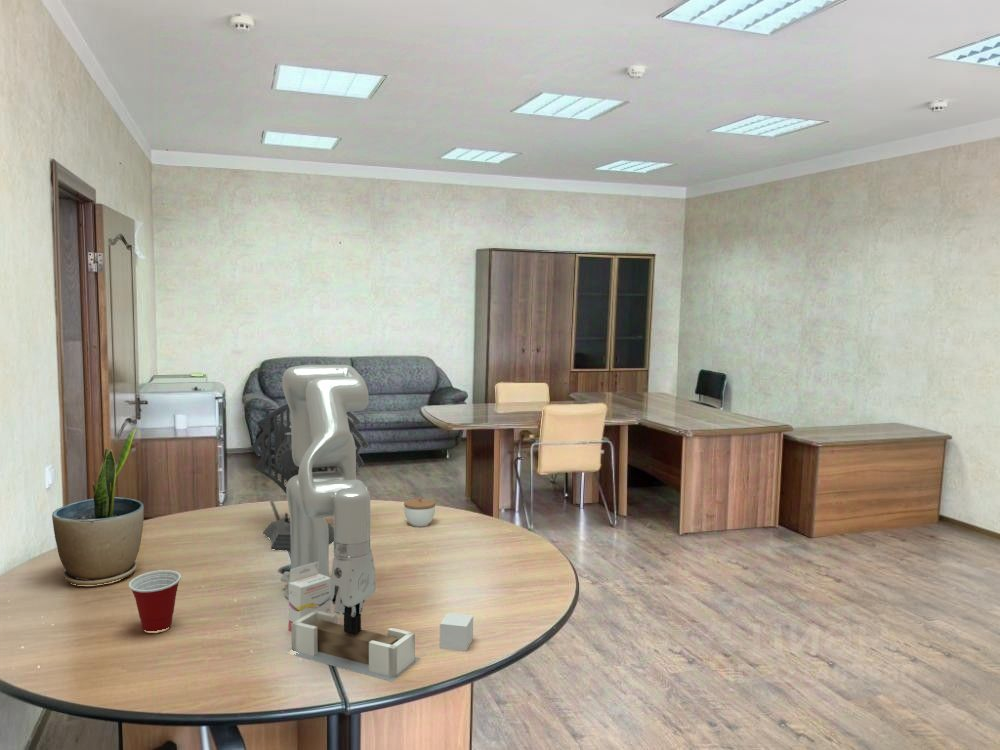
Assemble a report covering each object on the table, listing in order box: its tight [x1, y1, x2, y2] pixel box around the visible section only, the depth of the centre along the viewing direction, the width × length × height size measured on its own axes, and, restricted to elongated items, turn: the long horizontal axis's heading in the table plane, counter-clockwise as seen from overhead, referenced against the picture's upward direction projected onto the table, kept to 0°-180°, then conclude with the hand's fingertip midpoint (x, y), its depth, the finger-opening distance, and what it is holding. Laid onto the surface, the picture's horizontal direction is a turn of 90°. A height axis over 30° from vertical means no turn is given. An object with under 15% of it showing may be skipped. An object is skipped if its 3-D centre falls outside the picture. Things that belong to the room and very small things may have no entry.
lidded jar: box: [403, 496, 436, 528], centre depth 255 cm, size 11×11×9 cm
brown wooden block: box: [312, 620, 398, 665], centre depth 158 cm, size 20×4×5 cm, turn 65°
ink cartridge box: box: [288, 562, 332, 632], centre depth 171 cm, size 9×5×15 cm, turn 141°
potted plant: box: [51, 428, 145, 585], centre depth 199 cm, size 21×22×40 cm
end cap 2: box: [369, 627, 416, 677], centre depth 153 cm, size 6×8×6 cm
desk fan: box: [250, 403, 369, 552], centre depth 240 cm, size 34×33×45 cm
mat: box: [293, 652, 421, 682], centre depth 158 cm, size 27×11×1 cm, turn 65°
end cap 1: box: [290, 610, 338, 656], centre depth 162 cm, size 6×8×6 cm
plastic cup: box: [128, 569, 182, 631], centre depth 169 cm, size 11×11×12 cm
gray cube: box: [439, 612, 474, 652], centre depth 164 cm, size 6×6×6 cm
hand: (352, 631), depth 157 cm, fingers closed
